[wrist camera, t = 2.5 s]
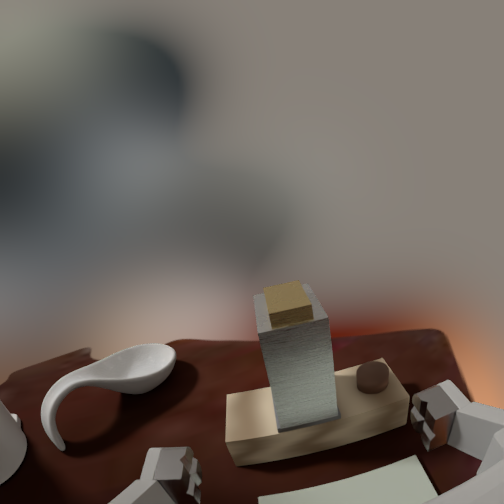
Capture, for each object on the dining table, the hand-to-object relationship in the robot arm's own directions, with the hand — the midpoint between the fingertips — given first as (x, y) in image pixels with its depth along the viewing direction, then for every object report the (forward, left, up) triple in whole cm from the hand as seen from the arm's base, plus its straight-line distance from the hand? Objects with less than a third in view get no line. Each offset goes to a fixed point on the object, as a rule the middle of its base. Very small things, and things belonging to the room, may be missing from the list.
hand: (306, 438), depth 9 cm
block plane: (+2, +15, -16) cm, 23 cm away
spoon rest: (-24, +25, -17) cm, 38 cm away
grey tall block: (+1, +15, -12) cm, 20 cm away
